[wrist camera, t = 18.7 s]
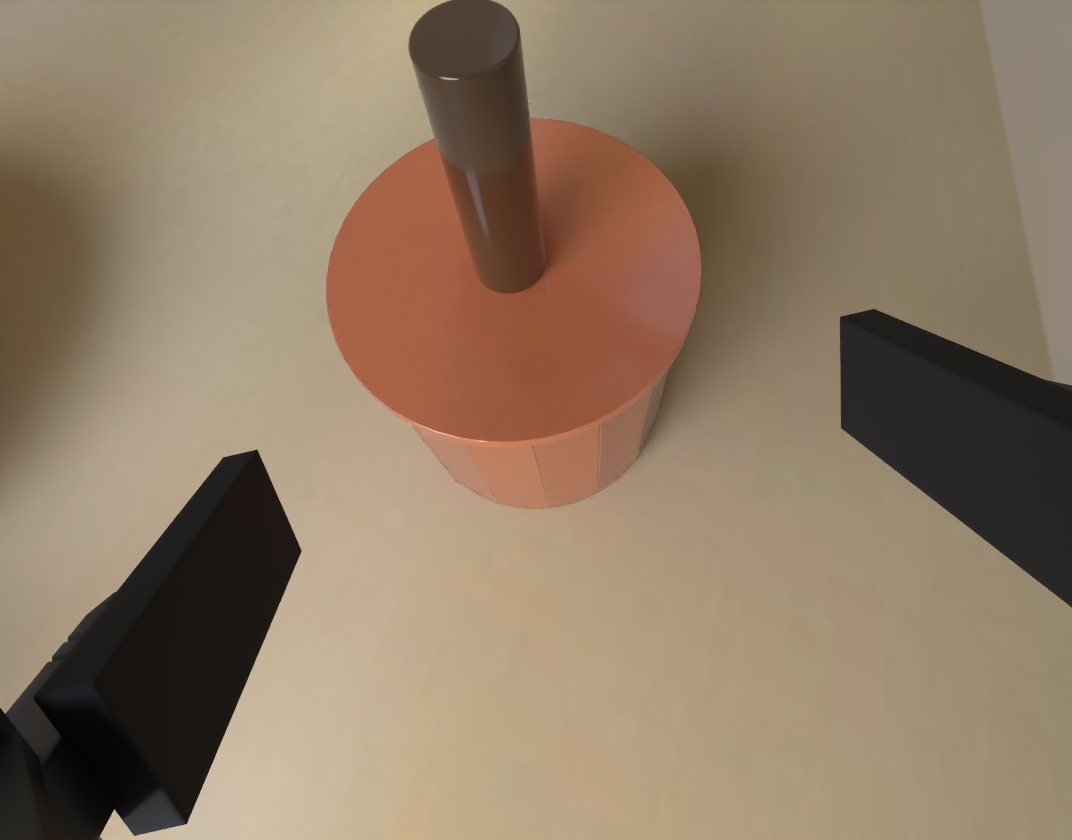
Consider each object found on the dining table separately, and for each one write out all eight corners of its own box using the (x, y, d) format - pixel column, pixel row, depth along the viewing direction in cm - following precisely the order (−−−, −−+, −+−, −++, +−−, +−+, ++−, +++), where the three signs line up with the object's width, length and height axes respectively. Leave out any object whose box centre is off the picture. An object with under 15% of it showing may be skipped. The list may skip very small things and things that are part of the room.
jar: (693, 344, 35) (739, 201, 24) (590, 552, 31) (590, 496, 20) (492, 261, 38) (452, 101, 27) (378, 444, 34) (279, 344, 23)
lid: (753, 207, 24) (857, -82, 15) (597, 521, 21) (603, 405, 11) (450, 101, 28) (376, -194, 18) (268, 358, 24) (52, 158, 14)
